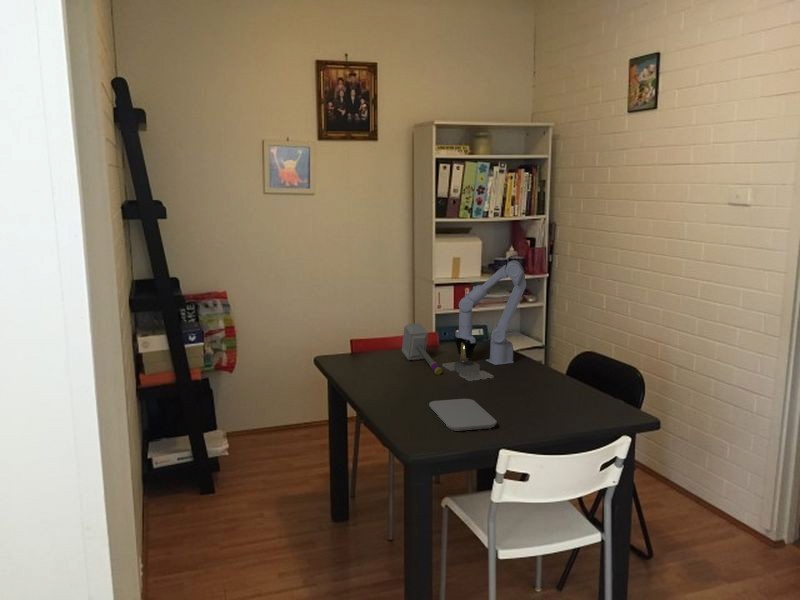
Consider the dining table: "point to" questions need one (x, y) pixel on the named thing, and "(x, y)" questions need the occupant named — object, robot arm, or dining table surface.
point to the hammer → (417, 345)
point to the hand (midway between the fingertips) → (464, 355)
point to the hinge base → (468, 370)
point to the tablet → (462, 414)
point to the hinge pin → (463, 353)
